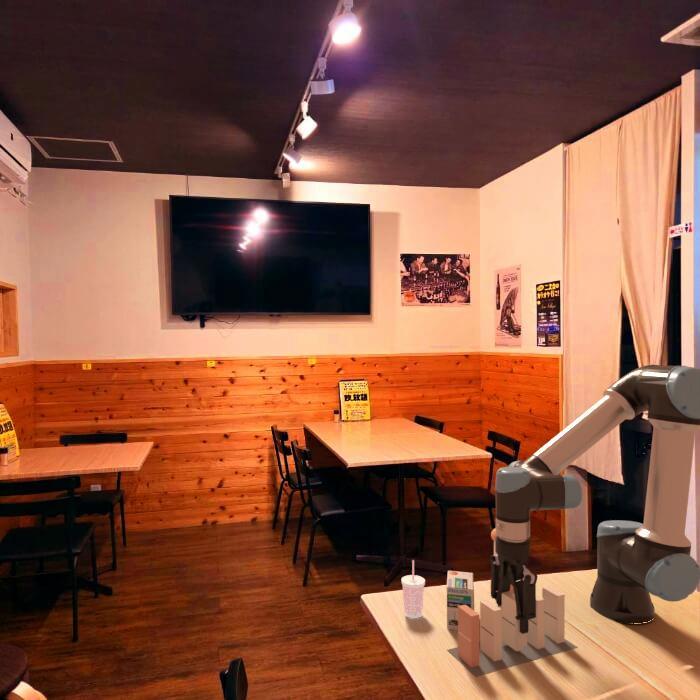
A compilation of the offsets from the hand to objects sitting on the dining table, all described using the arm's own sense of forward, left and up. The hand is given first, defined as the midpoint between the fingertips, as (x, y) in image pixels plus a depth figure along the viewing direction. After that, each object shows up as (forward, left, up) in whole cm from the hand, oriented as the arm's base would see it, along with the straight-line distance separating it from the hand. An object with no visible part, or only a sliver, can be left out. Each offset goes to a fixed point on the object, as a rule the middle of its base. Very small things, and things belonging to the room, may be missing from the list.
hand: (512, 639), depth 126 cm
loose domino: (0, 0, -1) cm, 1 cm away
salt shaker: (-17, -24, -3) cm, 30 cm away
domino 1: (+12, 0, -2) cm, 12 cm away
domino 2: (+6, 0, -2) cm, 6 cm away
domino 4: (-12, 0, -2) cm, 12 cm away
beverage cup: (+12, -24, -3) cm, 27 cm away
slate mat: (0, 0, -3) cm, 3 cm away
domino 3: (-6, 0, -2) cm, 6 cm away
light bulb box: (+3, -16, -3) cm, 17 cm away
